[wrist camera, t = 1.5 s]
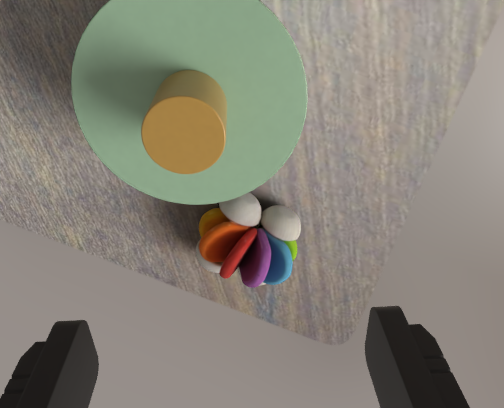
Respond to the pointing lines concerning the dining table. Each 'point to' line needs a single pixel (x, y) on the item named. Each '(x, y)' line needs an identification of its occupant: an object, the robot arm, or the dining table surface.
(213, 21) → the lid
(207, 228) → the rainbow disc rolling toy
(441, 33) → the dining table surface
